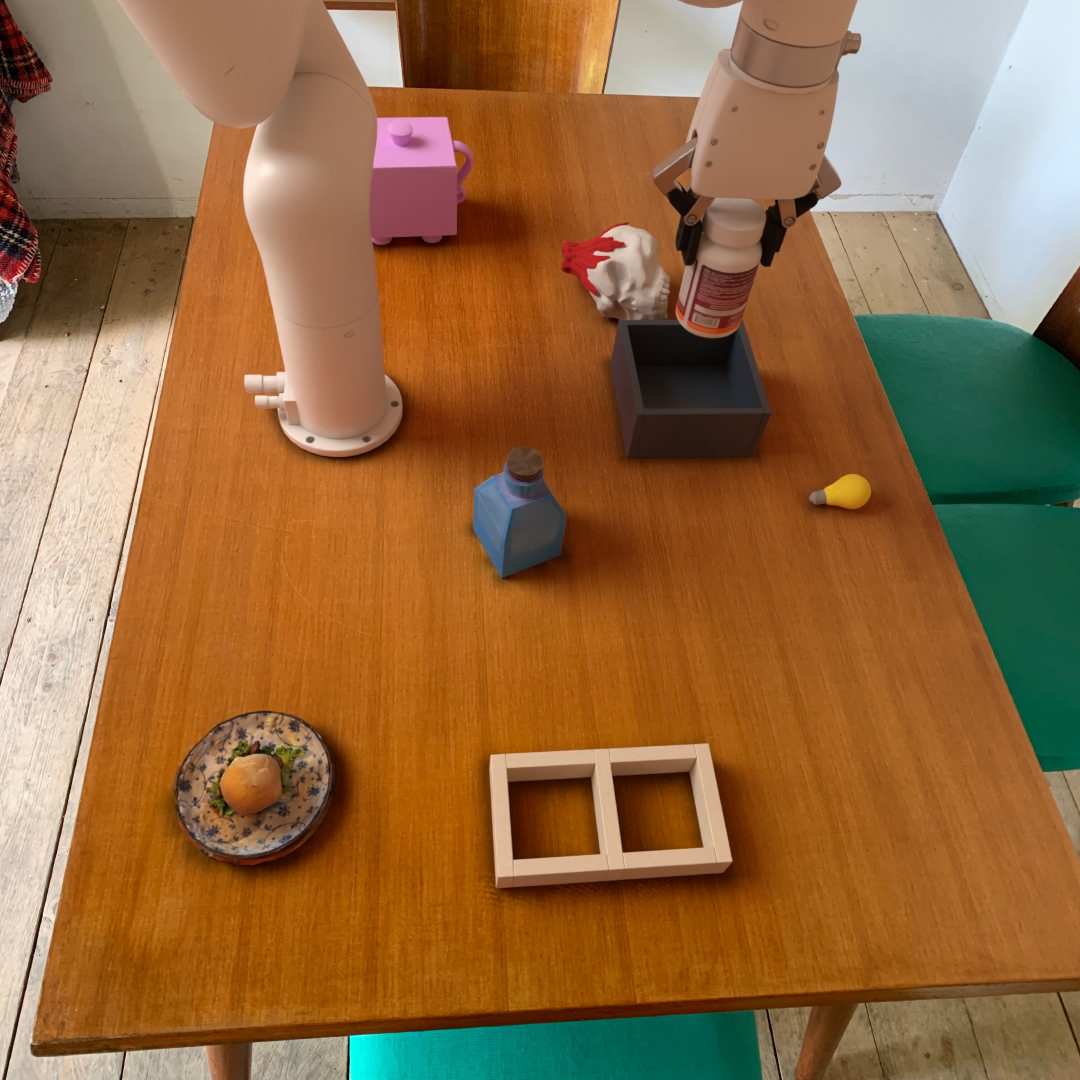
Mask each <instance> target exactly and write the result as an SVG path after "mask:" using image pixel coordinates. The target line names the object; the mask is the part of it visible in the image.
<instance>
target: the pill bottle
mask: <svg viewBox="0 0 1080 1080" xmlns="http://www.w3.org/2000/svg"><path fill="white" fill-rule="evenodd" d="M765 211H766V210H765V209H764V207H762V206H761V205H760V204H759V203H758V202H757V201H755V200H754V199H737V198H715V200H714V201H713V202H712V204H711V205H710V206H709V208H708V209H707V210H706V212H705V213H704V214H703V216H702V217H701V223H702V226H703V231H702V235H701V238H700V242H699V246H698V250H697V254H696V257H695V261H694V264H692V265H691V266H685V268H684V271H683V276H682V280H681V285H680V289H679V292H678V297H677V301H676V306H675V316H676V320H678V321H679V322H680V324H681V325H682V326H683V327H684V328H685V329H686V330H688V331H689V332H691V333H693V334H695V335H698V336H701V337H707V338H720V337H725V336H728V335H730V334H732V333H733V332H735V331H736V330H737V328H738V327H739V325H740V323H741V320H743V316H744V313H745V311H746V306H747V304H748V300H749V297H750V296H751V295H750V294H751V291H752V289H753V285H754V282H755V278H756V276H757V272H758V269H759V265H760V264H761V263H760V259H761V256H762V243H761V241H760V239H761V236H762V233H763V229H764V226H765V222H766V213H765Z"/></svg>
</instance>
